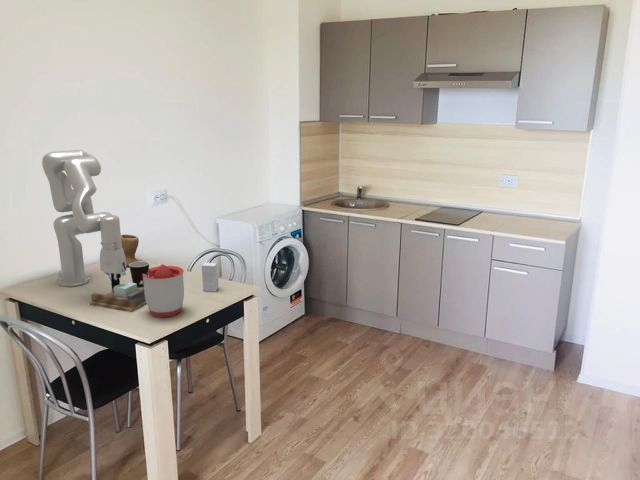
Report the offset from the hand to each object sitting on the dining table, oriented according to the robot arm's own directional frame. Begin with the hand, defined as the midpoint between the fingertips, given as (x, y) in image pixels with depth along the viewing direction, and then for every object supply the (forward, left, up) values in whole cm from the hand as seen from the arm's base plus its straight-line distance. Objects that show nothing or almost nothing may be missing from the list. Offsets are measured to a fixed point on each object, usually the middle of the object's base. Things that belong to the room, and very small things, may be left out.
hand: (116, 287), depth 224 cm
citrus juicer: (+25, -3, -6) cm, 26 cm away
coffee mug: (-4, +21, -6) cm, 22 cm away
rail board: (+3, 0, -6) cm, 7 cm away
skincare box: (+29, +26, -6) cm, 40 cm away
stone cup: (-32, +44, -6) cm, 55 cm away
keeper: (+5, 0, -4) cm, 6 cm away
